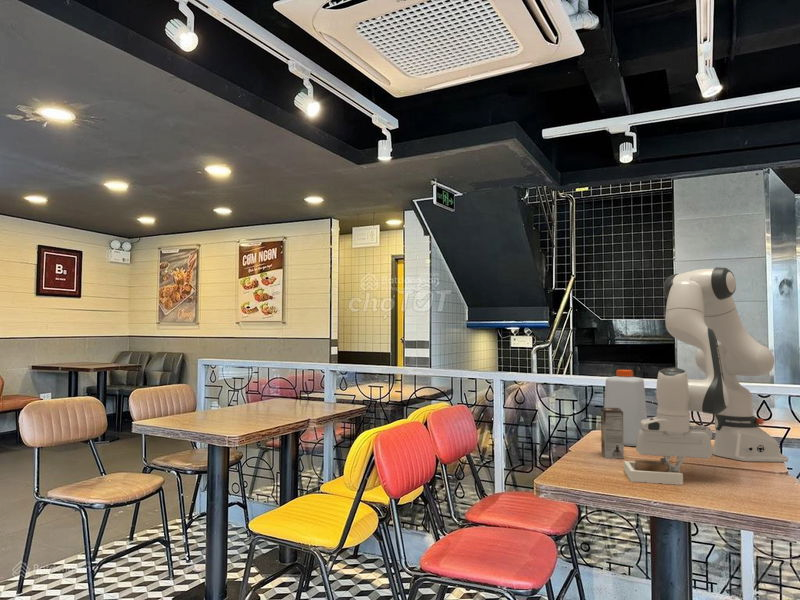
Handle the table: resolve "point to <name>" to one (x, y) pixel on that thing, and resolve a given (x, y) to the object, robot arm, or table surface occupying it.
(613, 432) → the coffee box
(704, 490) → the table surface
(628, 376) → the plastic bottle
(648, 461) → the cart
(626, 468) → the bay
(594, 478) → the table surface
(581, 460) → the table surface
